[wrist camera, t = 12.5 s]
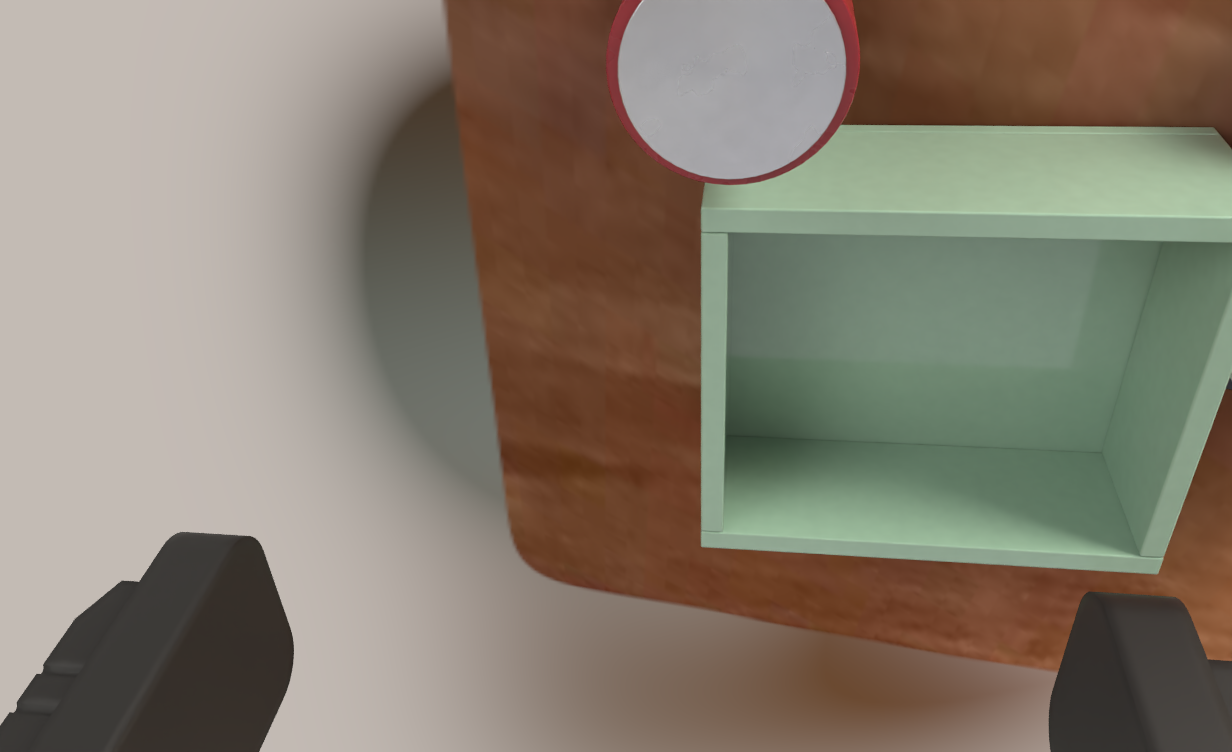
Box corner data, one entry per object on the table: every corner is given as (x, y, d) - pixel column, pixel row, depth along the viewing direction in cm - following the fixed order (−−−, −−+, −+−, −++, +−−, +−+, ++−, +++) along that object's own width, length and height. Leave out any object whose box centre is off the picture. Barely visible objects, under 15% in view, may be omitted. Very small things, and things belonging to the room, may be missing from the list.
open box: (712, 123, 35) (700, 208, 30) (1214, 126, 33) (1289, 218, 28) (710, 440, 43) (700, 547, 38) (1113, 458, 41) (1158, 575, 36)
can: (649, -151, 30) (596, -57, 22) (848, -158, 29) (872, -62, 21) (654, 42, 33) (610, 190, 25) (833, 41, 33) (850, 193, 24)
